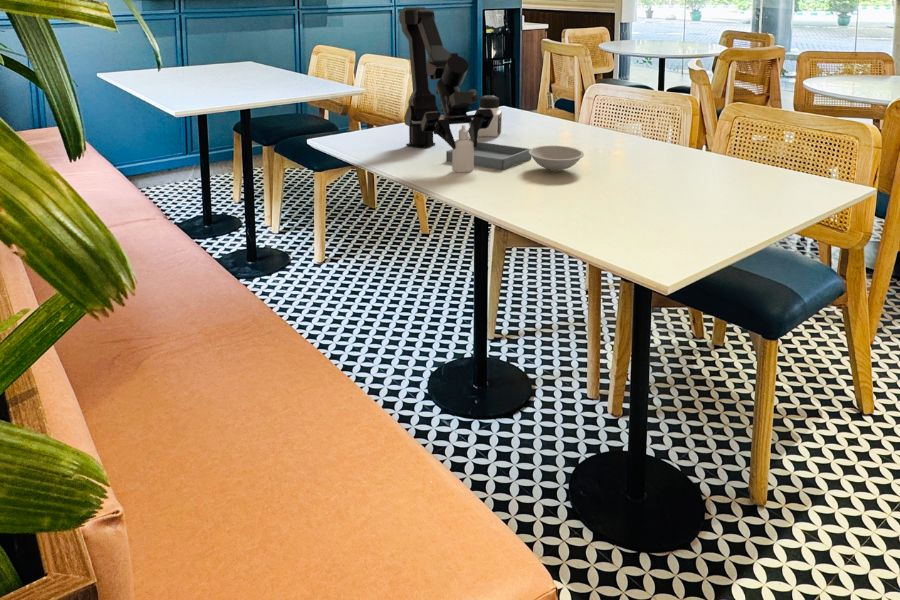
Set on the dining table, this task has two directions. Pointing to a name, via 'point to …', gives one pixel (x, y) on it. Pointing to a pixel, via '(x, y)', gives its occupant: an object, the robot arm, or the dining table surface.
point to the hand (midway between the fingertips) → (465, 147)
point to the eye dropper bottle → (463, 153)
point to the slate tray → (496, 155)
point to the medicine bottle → (495, 124)
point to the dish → (556, 157)
